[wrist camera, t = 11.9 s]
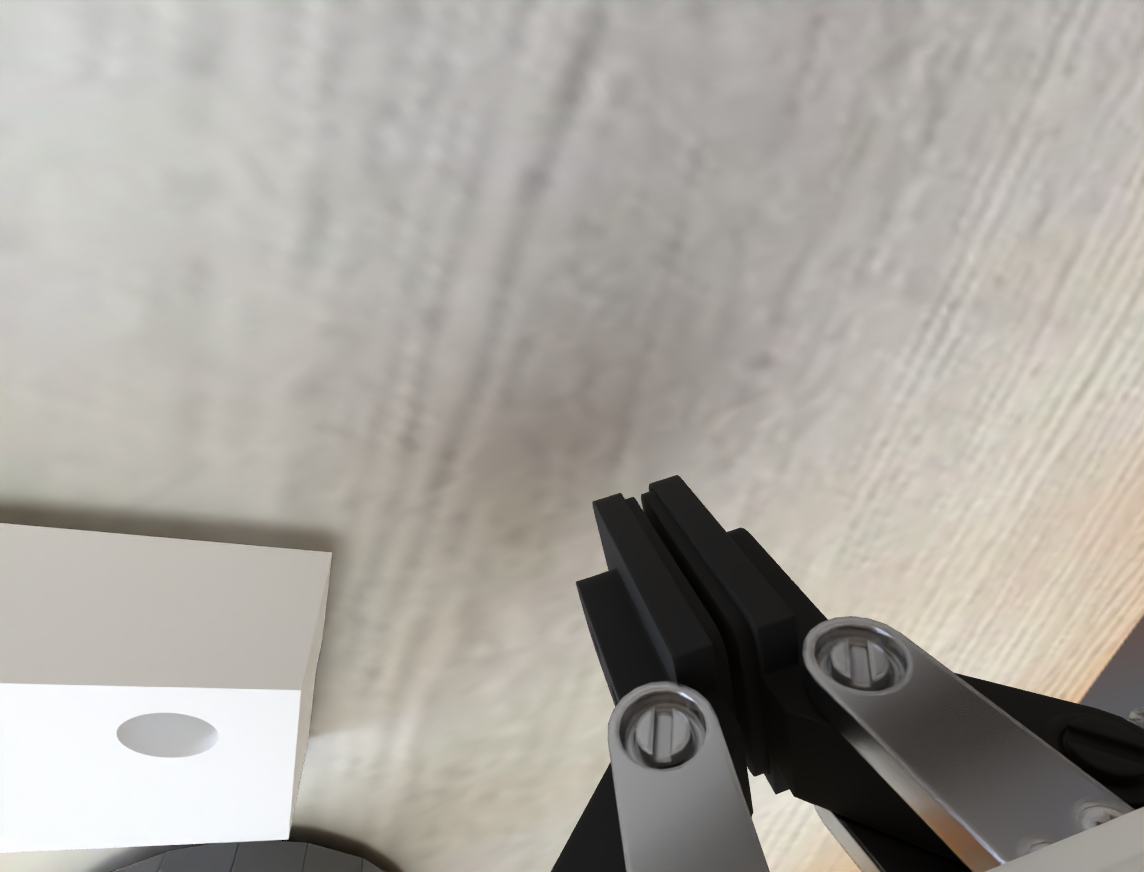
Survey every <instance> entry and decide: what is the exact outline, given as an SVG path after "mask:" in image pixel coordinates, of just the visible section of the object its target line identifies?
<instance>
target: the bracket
mask: <svg viewBox="0 0 1144 872" xmlns="http://www.w3.org/2000/svg"><path fill="white" fill-rule="evenodd" d="M331 560H332V552H321V551H310V550H299V549H287V548H276V547H265V546H254V545H242V544H231V543H220V542H208V541H197V540H186V539H175V538H163V537H152V536H141V535H130V534H118V533H107V532H96V531H84V530H73V529H62V528H51V527H39V526H28V525H17V524H5V523H0V853H8V852H30V851H51V850H73V849H95V848H116V847H138V846H160V845H182V844H203V843H225V842H247V841H268V840H288V839H289V834H290V829H291V824H292V819H293V814H294V809H295V804H296V799H297V794H298V789H299V784H300V779H301V774H302V769H303V765H304V760H305V755H306V750H307V745H308V740H309V731H310V722H311V712H312V703H313V693H314V684H315V675H316V668H317V663H318V659H319V654H320V649H321V645H322V640H323V631H324V622H325V613H326V604H327V595H328V586H329V577H330V568H331Z"/></svg>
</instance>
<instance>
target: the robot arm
mask: <svg viewBox="0 0 1144 872" xmlns="http://www.w3.org/2000/svg"><path fill="white" fill-rule="evenodd" d="M641 501H642V506H643V510H642V509H641V507H640V505H639V504H638V502H637V501H636V499H635V498H634V497H631V498H628V499H624V497H623V495H622V494H621V493H618V494H615V495H612V496H609V497H606V498H603V499H599V500H596V501H593V509H594V513H595V518H596V522H597V526H598V530H599V534H600V538H601V542H602V546H603V550H604V554H605V558H606V562H607V566H608V570H609V571H607V572H604V573H601V574H598V575H595V576H592V577H589V578H586V579H583V580H580V581H577V582H576V585H577V589H578V593H579V596H580V600H581V603H582V607H583V611H584V614H585V617H586V621H587V624H588V628H589V631H590V634H591V637H592V640H593V643H594V646H595V650H596V653H597V656H598V658H599V661H600V664H601V667H602V670H603V673H604V676H605V679H606V681H607V684H608V687H609V690H610V693H611V696H612V699H613V701H614V704H615V708H614V710H613V712H612V715H611V717H610V720H609V723H608V745H609V752H610V759H611V762H610V764H609V766H608V768H607V770H606V772H605V773H604V775H603V777H602V779H601V781H600V783H599V784H598V786H597V788H596V790H595V792H594V794H593V795H592V797H591V799H590V801H589V803H588V805H587V806H586V808H585V810H584V812H583V814H582V816H581V817H580V819H579V821H578V823H577V825H576V827H575V828H574V830H573V832H572V834H571V836H570V838H569V839H568V841H567V843H566V845H565V847H564V849H563V850H562V852H561V854H560V856H559V858H558V860H557V861H556V863H555V865H554V867H553V869H552V871H551V872H770V871H769V868H768V865H767V862H766V860H765V857H764V854H763V851H762V848H761V845H760V842H759V839H758V836H757V833H756V830H755V827H754V824H753V821H752V818H751V817H752V814H753V807H752V800H751V793H750V786H749V779H748V772H747V767H748V769H749V771H750V772H751V773H752V775H753V776H758V775H761V774H763V773H764V775H765V776H766V778H767V780H768V782H769V783H770V785H771V787H772V789H773V791H774V792H775V794H778V793H781V792H783V791H786V790H789V789H790V790H791V792H792V794H793V796H794V797H797V798H799V799H802V800H804V801H807V802H809V803H812V804H814V806H815V810H816V812H817V813H818V815H819V817H820V818H821V820H822V822H823V823H824V825H825V826H826V827H827V829H828V830H829V831H830V832H831V834H832V835H833V836H834V837H835V839H836V840H837V841H838V842H839V844H840V845H841V846H842V848H843V849H844V850H845V851H846V853H847V854H848V855H849V856H850V858H851V859H852V860H853V861H854V863H855V864H856V865H857V866H858V868H859V869H860V870H861V872H1144V708H1138V709H1132V710H1131V714H1130V717H1129V718H1127V719H1124V718H1122V717H1120V716H1117V715H1114V714H1111V713H1108V712H1105V711H1102V710H1099V709H1096V708H1093V707H1089V706H1085V705H1080V704H1077V703H1073V702H1069V701H1065V700H1061V699H1057V698H1053V697H1049V696H1045V695H1041V694H1037V693H1033V692H1029V691H1025V690H1021V689H1017V688H1013V687H1009V686H1005V685H1001V684H997V683H993V682H989V681H985V680H981V679H977V678H973V677H969V676H965V675H961V674H957V673H953V672H952V671H951V670H949V669H948V668H947V667H945V666H944V665H943V664H941V663H940V662H939V661H937V660H936V659H935V658H933V657H932V656H931V655H929V654H928V653H927V652H925V651H924V650H923V649H921V648H920V647H919V646H917V645H916V644H915V643H913V642H912V641H911V640H910V639H908V638H907V637H906V636H904V635H903V634H902V633H900V632H898V631H897V630H895V629H893V628H892V627H890V626H888V625H886V624H884V623H881V622H878V621H875V620H872V619H869V618H861V617H853V616H849V617H837V618H833V619H830V620H828V619H827V618H826V617H825V616H824V615H823V614H822V613H821V612H820V611H819V609H818V608H817V607H816V606H815V605H814V604H813V603H812V602H811V601H810V600H809V598H808V597H807V596H806V595H805V594H804V593H803V592H802V591H801V590H800V588H799V587H798V586H797V585H796V584H795V583H794V582H793V581H792V580H791V578H790V577H789V576H788V575H787V574H786V573H785V572H784V571H783V570H782V568H781V567H780V566H779V565H778V564H777V563H776V562H775V561H774V560H773V558H772V557H771V556H770V555H769V554H768V553H767V552H766V551H765V550H764V549H763V547H762V546H761V545H760V544H759V543H758V542H757V541H756V540H755V539H754V537H753V536H752V535H751V534H750V533H749V532H748V531H747V530H745V529H744V528H738V529H735V530H732V531H729V532H726V531H725V530H724V529H723V528H722V526H721V525H720V524H719V523H718V522H717V520H716V519H715V518H714V517H713V516H712V514H711V513H710V512H709V511H708V510H707V508H706V507H705V506H704V505H703V504H702V502H701V501H700V500H699V499H698V498H697V496H696V495H695V494H694V493H693V492H692V491H691V489H690V488H689V487H688V486H687V485H686V483H685V482H684V481H683V480H682V479H681V477H679V476H678V475H675V476H672V477H669V478H666V479H663V480H660V481H656V482H653V483H650V484H649V492H647V493H644V494H642V495H641ZM643 511H644V512H643Z"/></svg>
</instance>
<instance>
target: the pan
mask: <svg viewBox="0 0 1144 872" xmlns="http://www.w3.org/2000/svg"><path fill="white" fill-rule="evenodd" d="M111 872H384V871H383V870H381V869H380V868H378V867H377V866H375V865H374V864H372V863H371V862H369V861H367V860H366V859H364V858H361V857H358V856H355V855H351V854H347V853H344V852H340V851H337V850H333V849H329V848H326V847H322V846H319V845H315V844H311V843H308V844H307V843H306V842H287V841H247V842H225V843H214V844H207V845H201V846H194V847H188V848H181V849H175V850H169V851H167V853H166V852H164V853H161V854H158V855H155V856H153V857H150V858H147V859H144V860H142V861H139V862H136V863H133V864H130V865H128V866H125V867H122V868H119V869H117V870H114V871H111Z"/></svg>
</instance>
